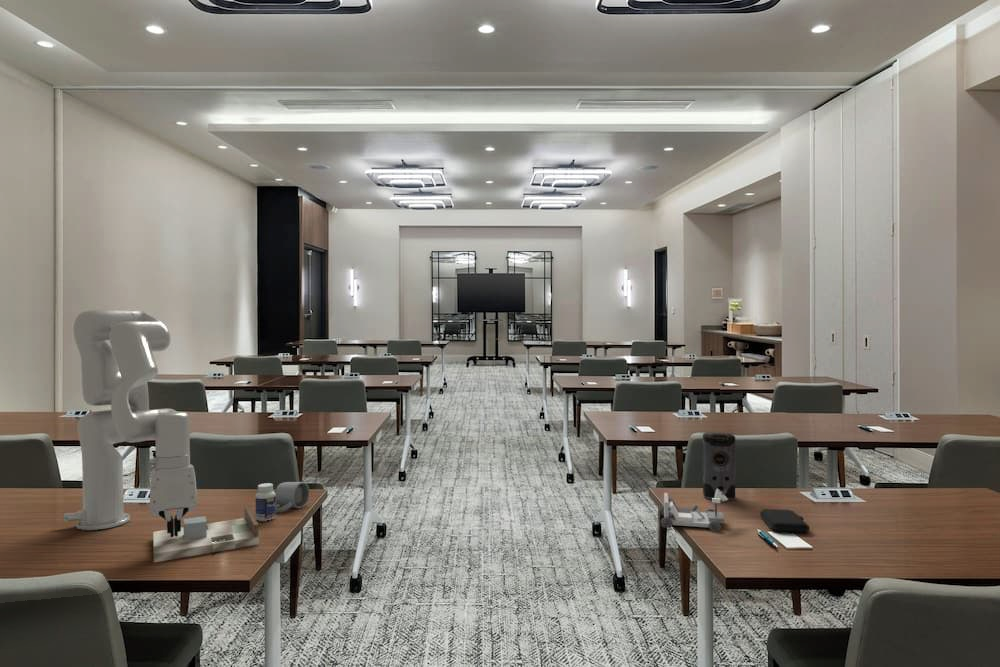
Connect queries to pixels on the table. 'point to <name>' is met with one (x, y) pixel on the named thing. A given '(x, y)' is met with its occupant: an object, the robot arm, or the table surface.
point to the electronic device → (718, 464)
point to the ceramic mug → (291, 495)
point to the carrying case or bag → (784, 521)
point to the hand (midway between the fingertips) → (174, 535)
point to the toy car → (692, 514)
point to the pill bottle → (265, 502)
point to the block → (195, 528)
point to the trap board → (208, 539)
